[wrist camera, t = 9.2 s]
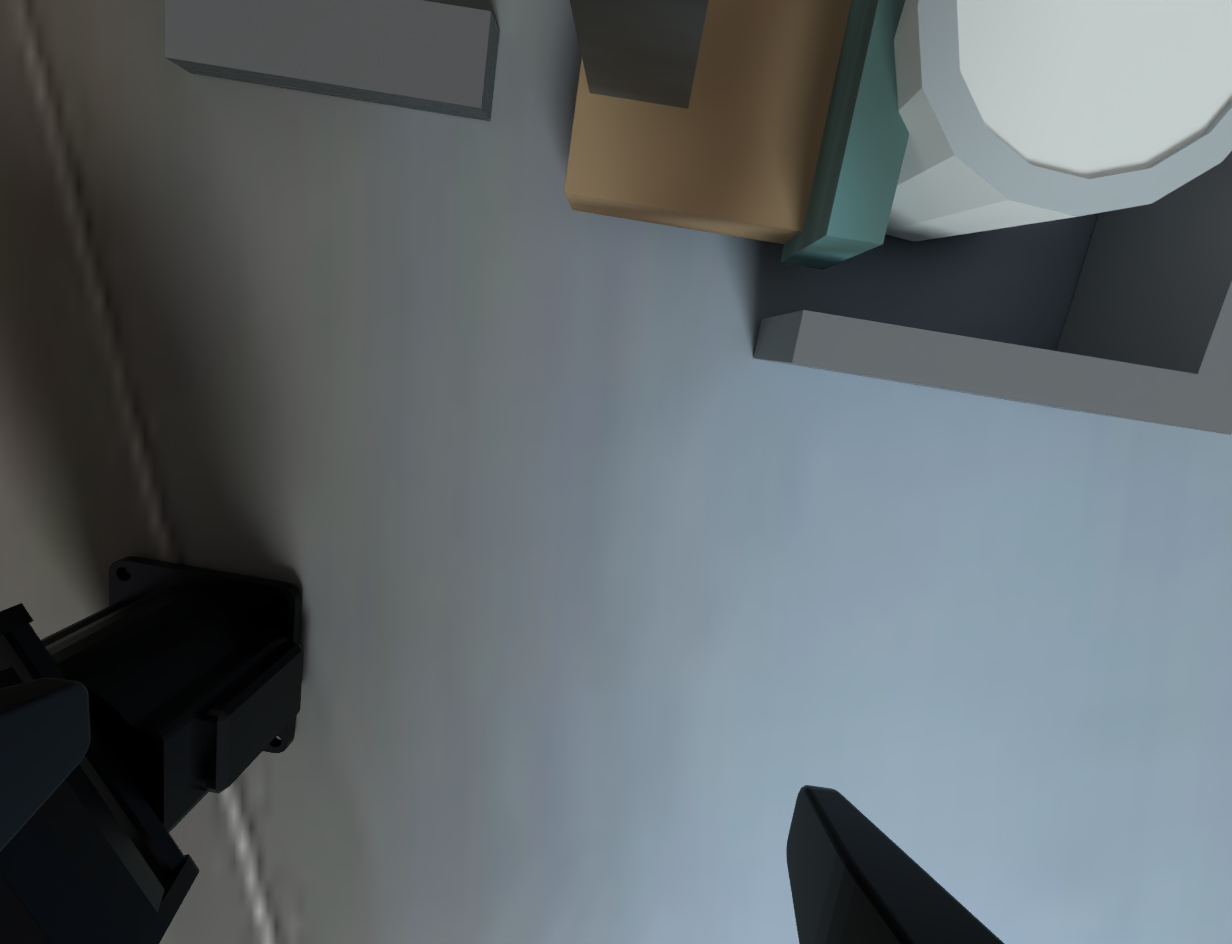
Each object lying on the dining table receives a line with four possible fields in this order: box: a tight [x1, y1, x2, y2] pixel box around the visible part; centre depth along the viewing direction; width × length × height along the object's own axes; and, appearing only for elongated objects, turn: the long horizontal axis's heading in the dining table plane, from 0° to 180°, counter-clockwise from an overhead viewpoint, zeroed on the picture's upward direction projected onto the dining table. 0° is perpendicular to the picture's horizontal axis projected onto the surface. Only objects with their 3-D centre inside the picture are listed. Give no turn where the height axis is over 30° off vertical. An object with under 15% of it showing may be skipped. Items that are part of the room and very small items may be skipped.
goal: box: [754, 151, 1232, 435], centre depth 15 cm, size 10×13×5 cm
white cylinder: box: [885, 0, 1232, 242], centre depth 14 cm, size 7×7×7 cm
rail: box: [165, 0, 500, 121], centre depth 17 cm, size 9×2×1 cm, turn 81°
